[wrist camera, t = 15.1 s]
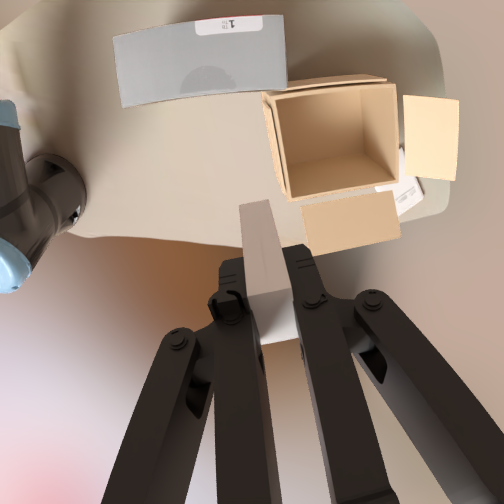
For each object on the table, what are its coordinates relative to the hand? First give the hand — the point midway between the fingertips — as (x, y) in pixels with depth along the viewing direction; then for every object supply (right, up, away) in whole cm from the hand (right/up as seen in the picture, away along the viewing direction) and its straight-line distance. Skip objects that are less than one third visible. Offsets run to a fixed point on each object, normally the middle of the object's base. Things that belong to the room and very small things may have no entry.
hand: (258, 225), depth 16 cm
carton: (+10, +19, +30) cm, 37 cm away
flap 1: (+13, +3, +24) cm, 27 cm away
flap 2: (+23, +13, +17) cm, 31 cm away
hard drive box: (-6, +27, +23) cm, 36 cm away
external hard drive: (+26, +12, +37) cm, 47 cm away
